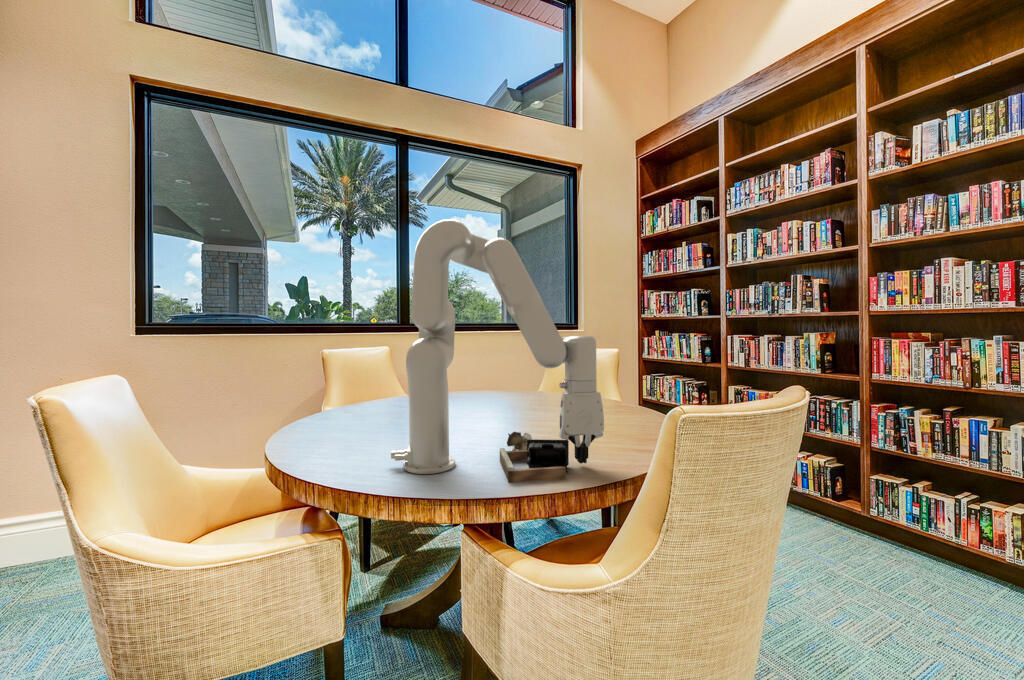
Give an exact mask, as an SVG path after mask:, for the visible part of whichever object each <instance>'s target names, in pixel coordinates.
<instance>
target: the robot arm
mask: <svg viewBox="0 0 1024 680" xmlns="http://www.w3.org/2000/svg"><path fill="white" fill-rule="evenodd" d="M450 261H452V262H454V263H457V264H459V265H462V266H465V267H468V268H470V269H473V270H475V271H479V272H482V273H485V274H488V276H489V278H490V280H491V281H492V283H493V285H494V286H495V289H496V290H497V292H498V295H500V298H501V300H502V302H503V303H504V306H505V307H506V310H507V311H508V313H509V315H510V316H511V317H512V319H513V320H514V321H515V323H516V325H517V327H518V329H519V331H520V332H521V334H522V337H523V338H524V340H525V342H526V344H527V345H528V348H529V350H530V352H531V353H532V355H533V357H534V359H535V361H536V363H537V364H538V365H539V366H541V367H543V368H546V369H556V368H559V366H561V365H562V364H564V380H563V381H562V382H559V389H563V390H564V391H563V392H562V395H561V401H560V409H559V429H560V431H559V436H558V437H559V438H560V440H568V441H570V442H571V443H572V444H573V445H574V459H575V460H576V462H578V463H579V464H587V461H588V460H587V459H589V447H590V446H591V443H592V442H593V441H594V440H595V439H598V438H601V437H603V436H604V430H605V416H604V407H603V406H604V405H603V400H602V395H601V392H600V391H597V389H598V387H597V376H598V375H597V340H596V338H595V337H594V336H592V335H571V336H561V334H560V333H559V331H558V329H557V326H556V325H555V323H554V321H553V319H552V317H551V315H550V314H549V312H548V309H547V308H546V306H545V304H544V302H543V300H542V296H541V294H540V293H539V291H538V289H537V287H536V286H535V284H534V282H533V280H532V278H531V276H530V274H529V273H528V270H527V269H526V267H525V264H524V263H523V260H522V259H521V257H520V255H519V253H518V251H517V249H516V248H515V246H514V244H513V243H512V242H511V241H510V240H509V239H506V238H503V237H494V238H492V239H488V238H484V237H482V236H479V235H477V234H474V233H472V232H471V231H470V230H469V228H468V227H467V226H466V225H465V224H464V223H463V222H462V221H459V220H457V219H453V218H447V219H445V218H444V219H442V220H439V221H437V222H434V223H433V224H432V225H430V226H429V227H427V229H425V231H423V233H422V234H421V236H420V237H419V239H418V241H417V244H416V246H415V250H414V257H413V275H412V277H413V278H412V297H411V310H410V312H411V314H410V316H411V320H412V323H413V325H415V327H417V328H418V339H417V340H415V341H414V342H413V343H412V344H411V345H410V347H409V348H408V350H407V353H406V357H405V369H406V376H407V377H406V378H407V385H408V386H407V387H408V416H409V417H408V424H409V425H408V426H409V428H408V429H409V445H408V448H405V449H404V450H391V451H390V460H391V459H392V460H394V461H395V462H396V461H398V462H399V461H403V465H402V468H403V470H404V471H406V472H408V473H411V474H415V475H416V474H417V475H432V474H437V473H440V474H441V473H444V472H447V471H450V470H452V469H454V467H455V466H456V459H455V458H454V457H453V456H451V455H450V429H449V428H450V423H449V421H450V419H449V417H450V415H449V407H450V404H449V384H448V382H449V381H448V368H449V367H450V366H451V364H452V363H453V360H454V354H455V335H456V334H455V331H456V330H455V329H456V313H455V309H454V308H455V307H454V305H453V304H452V302H451V301H450V299H449V280H450V276H449V275H450V274H449V273H450V270H449V268H450ZM580 436H581V438H582V439H581V438H580Z"/></svg>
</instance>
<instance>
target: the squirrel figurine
mask: <svg viewBox="0 0 1024 680" xmlns="http://www.w3.org/2000/svg"><path fill="white" fill-rule="evenodd" d="M507 435H508V437H507V441H506V445H507V447H513V448H512V449H511V451H516V450H527V440H528V439H533V438H532V435H531V434H530V433H528V432H524V434H523V435H522V433H521V432H520V431H519V432H518V431H513V432H512V433H511V434H510V433H509V432H508V433H507Z"/></svg>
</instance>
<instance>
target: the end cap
mask: <svg viewBox="0 0 1024 680" xmlns="http://www.w3.org/2000/svg"><path fill="white" fill-rule="evenodd" d="M569 441H570V440H566V439H533V438H532V439H528V440H527V461H526V464H527V466H528V468H543V467H561V466H564V467H565V468H566V474H567V473H568V466H569V464H570V463H569V456H570V455H569V451H570V450H569V449H570V447H569V445H570V444H569Z"/></svg>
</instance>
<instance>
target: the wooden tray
mask: <svg viewBox="0 0 1024 680" xmlns="http://www.w3.org/2000/svg"><path fill="white" fill-rule="evenodd" d="M512 462H513V463H514V462H517V463H518V462H527V450H516V451H512V450H506V449H505V448H504V447H501V448H499V463H500V465H501V468H502V470H503V472H504V475H505V477H506V481H507V482H508V483H521V482H538V481H539V482H540V481H555V480H566V478H567V477H566V476H567V473H566V468H565V467H564V466H561V467H543V468H529V467H527V468H525V467H524V468H514V464H513V463H512Z"/></svg>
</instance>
